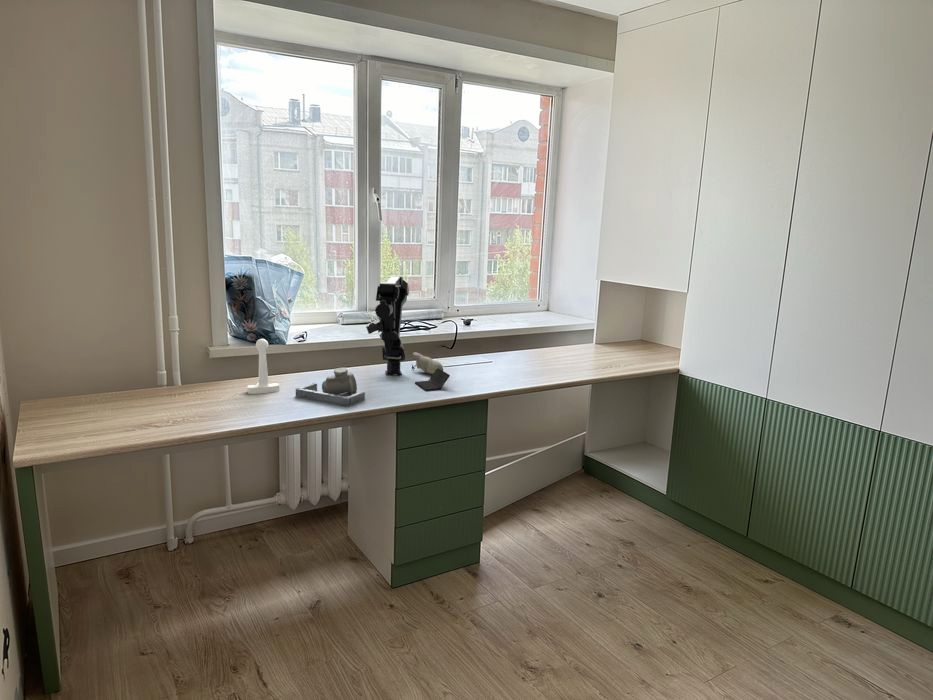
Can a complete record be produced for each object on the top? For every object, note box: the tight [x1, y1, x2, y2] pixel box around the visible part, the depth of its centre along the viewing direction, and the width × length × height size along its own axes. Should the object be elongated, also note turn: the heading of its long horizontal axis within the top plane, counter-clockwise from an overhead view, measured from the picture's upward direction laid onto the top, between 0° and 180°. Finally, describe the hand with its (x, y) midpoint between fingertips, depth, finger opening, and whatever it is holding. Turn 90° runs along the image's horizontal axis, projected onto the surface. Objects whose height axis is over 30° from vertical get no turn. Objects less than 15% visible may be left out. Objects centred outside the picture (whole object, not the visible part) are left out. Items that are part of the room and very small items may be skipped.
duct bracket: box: [295, 382, 366, 408], centre depth 227 cm, size 10×23×3 cm, turn 64°
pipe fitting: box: [321, 367, 358, 395], centre depth 231 cm, size 12×8×10 cm
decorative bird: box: [411, 351, 444, 375], centre depth 267 cm, size 6×17×8 cm, turn 47°
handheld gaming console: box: [414, 368, 451, 392], centre depth 248 cm, size 13×8×11 cm
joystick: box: [246, 338, 280, 395], centre depth 232 cm, size 11×8×20 cm
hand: (387, 353), depth 248 cm, fingers closed
